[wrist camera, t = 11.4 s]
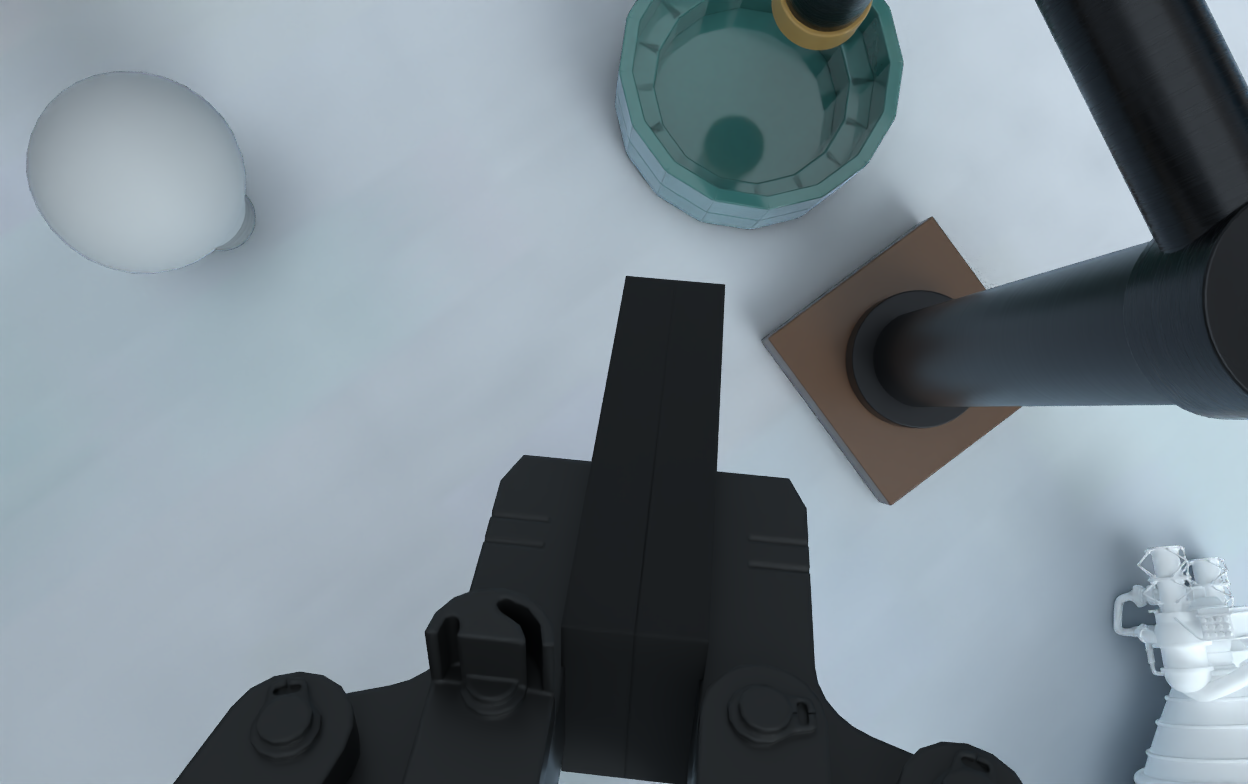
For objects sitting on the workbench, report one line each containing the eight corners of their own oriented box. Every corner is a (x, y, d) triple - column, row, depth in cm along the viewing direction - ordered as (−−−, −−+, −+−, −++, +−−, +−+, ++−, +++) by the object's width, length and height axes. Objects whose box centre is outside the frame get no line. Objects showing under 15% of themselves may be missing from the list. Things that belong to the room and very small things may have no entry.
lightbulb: (328, 275, 39) (231, 223, 28) (174, 319, 39) (15, 284, 28) (284, 125, 39) (169, 15, 28) (130, 168, 39) (-46, 73, 28)
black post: (760, 340, 40) (942, 271, 20) (919, 222, 40) (1253, 39, 20) (879, 502, 40) (1177, 594, 20) (1037, 383, 41) (1483, 357, 21)
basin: (566, 76, 40) (564, 33, 35) (767, -69, 40) (791, -129, 36) (715, 279, 40) (733, 263, 36) (914, 133, 40) (956, 98, 36)
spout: (1077, 378, 32) (1479, 354, 18) (960, 439, 31) (1270, 463, 17) (855, -66, 32) (1079, -449, 17) (736, -8, 31) (865, -350, 17)
